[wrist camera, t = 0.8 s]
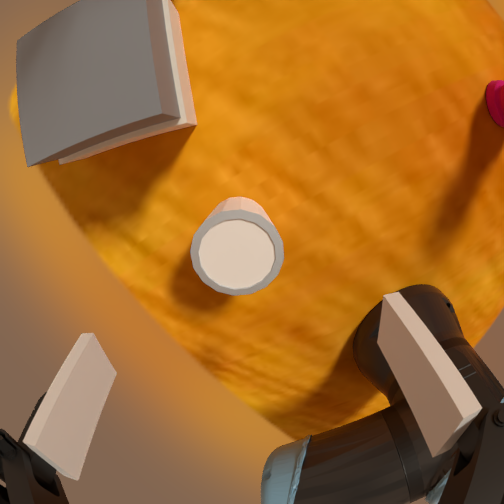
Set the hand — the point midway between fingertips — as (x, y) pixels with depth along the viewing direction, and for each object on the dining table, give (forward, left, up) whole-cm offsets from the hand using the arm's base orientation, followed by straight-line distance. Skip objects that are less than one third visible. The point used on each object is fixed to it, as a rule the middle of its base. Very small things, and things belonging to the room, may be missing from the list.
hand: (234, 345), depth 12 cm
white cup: (0, 0, -17) cm, 17 cm away
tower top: (+16, +8, -12) cm, 21 cm away
